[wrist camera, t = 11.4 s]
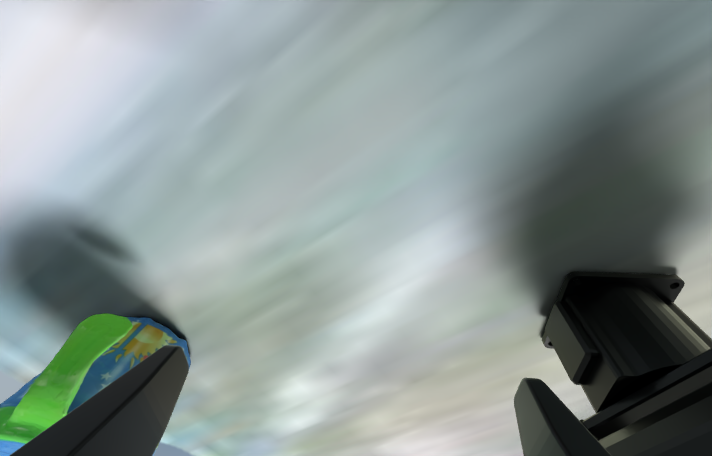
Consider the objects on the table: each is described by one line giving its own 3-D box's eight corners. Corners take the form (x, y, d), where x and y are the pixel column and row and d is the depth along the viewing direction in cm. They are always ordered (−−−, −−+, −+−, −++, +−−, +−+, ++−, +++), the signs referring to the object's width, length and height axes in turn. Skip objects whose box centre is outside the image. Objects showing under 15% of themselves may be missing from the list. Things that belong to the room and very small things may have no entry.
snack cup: (87, 252, 23) (-95, 385, 14) (231, 307, 25) (145, 456, 16) (85, 372, 31) (-33, 506, 22) (195, 408, 32) (124, 546, 24)
